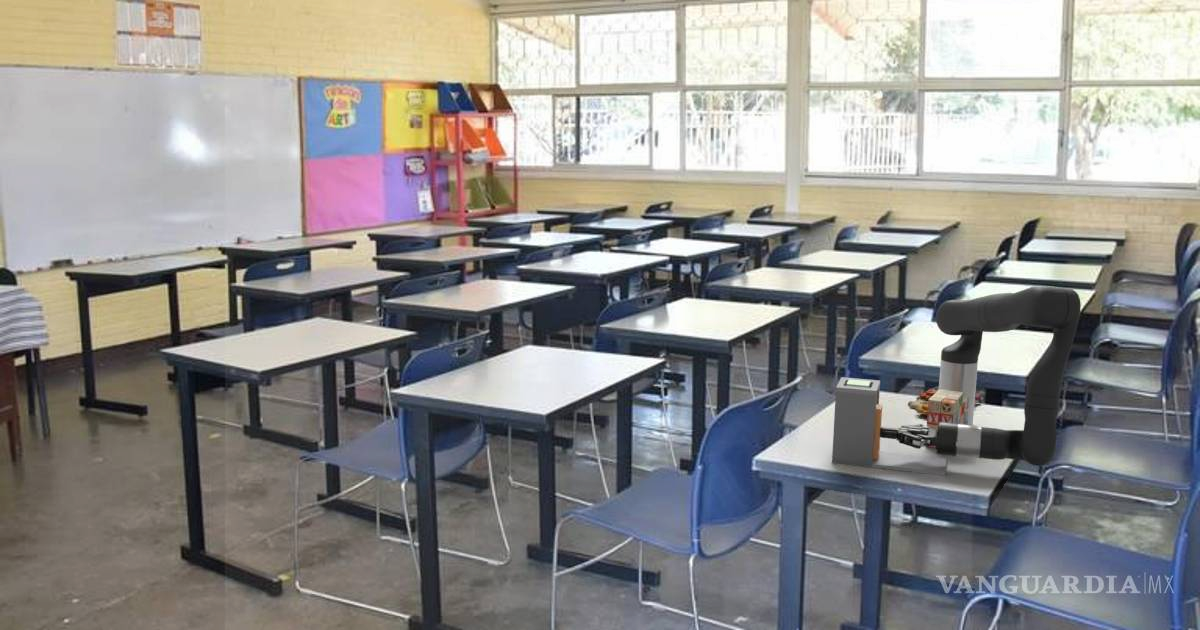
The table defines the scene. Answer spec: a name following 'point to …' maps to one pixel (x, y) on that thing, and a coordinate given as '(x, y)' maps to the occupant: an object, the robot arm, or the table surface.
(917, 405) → the gear puzzle
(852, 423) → the grey tower on baseplate
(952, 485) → the table surface
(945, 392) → the stack of blocks
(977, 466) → the table surface
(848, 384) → the on button
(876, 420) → the orange upright cuboid
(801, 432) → the table surface
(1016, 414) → the table surface
